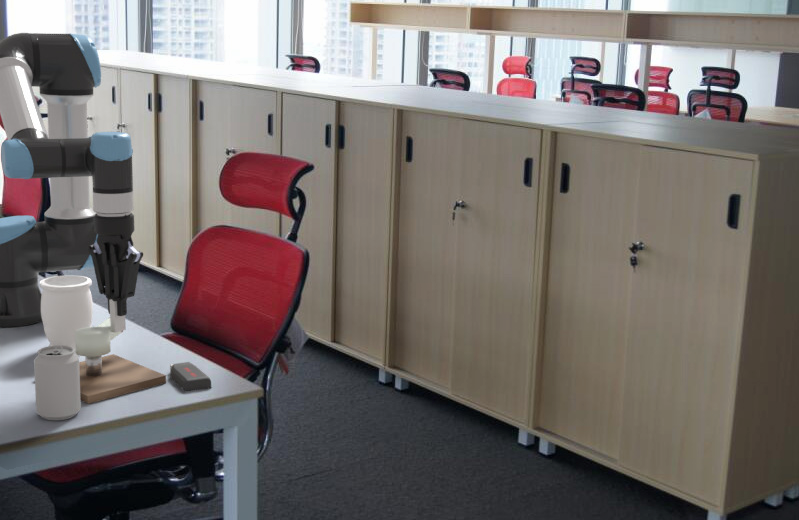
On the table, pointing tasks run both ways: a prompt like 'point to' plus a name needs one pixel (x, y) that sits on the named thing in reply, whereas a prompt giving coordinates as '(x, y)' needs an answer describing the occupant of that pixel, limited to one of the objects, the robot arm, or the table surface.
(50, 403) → the can
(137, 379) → the base plate
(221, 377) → the table surface
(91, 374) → the stud
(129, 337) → the table surface
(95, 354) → the tan-tipped lever stick
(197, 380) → the usb drive
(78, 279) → the jar
